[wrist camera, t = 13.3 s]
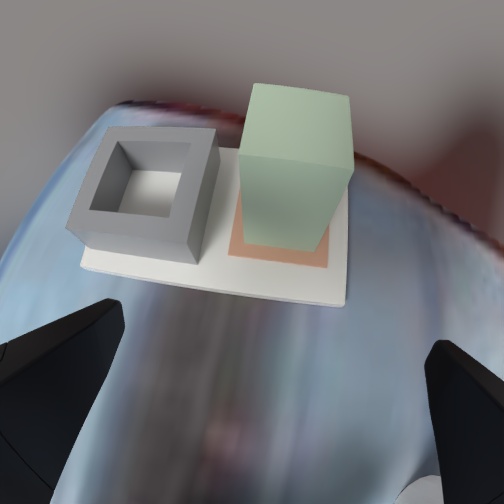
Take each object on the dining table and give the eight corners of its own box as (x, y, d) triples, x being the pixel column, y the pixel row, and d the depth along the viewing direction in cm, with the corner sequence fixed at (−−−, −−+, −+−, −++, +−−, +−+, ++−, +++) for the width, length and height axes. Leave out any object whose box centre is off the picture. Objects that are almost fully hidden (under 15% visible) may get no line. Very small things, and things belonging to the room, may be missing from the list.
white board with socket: (340, 307, 22) (363, 291, 17) (85, 269, 23) (53, 247, 18) (344, 170, 26) (359, 133, 21) (127, 149, 27) (110, 114, 22)
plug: (314, 252, 22) (354, 170, 13) (244, 243, 22) (238, 154, 13) (317, 192, 24) (348, 96, 14) (253, 183, 24) (254, 83, 15)
